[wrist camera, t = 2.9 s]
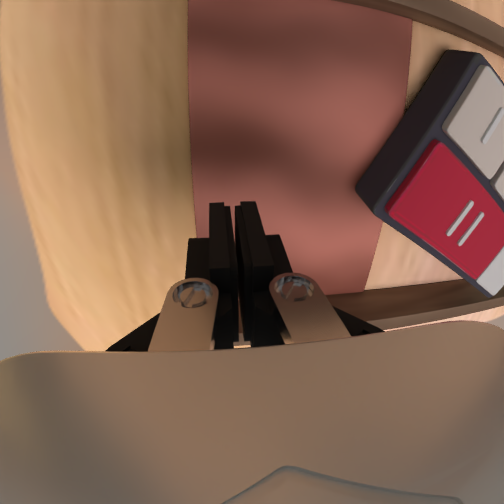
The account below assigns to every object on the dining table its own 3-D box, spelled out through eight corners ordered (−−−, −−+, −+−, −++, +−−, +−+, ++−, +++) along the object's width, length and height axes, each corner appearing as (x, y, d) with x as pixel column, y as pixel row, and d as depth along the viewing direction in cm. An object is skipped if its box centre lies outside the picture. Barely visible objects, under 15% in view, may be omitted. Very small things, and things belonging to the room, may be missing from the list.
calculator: (488, 50, 10) (572, 200, 14) (441, 45, 13) (538, 177, 18) (374, 220, 15) (494, 306, 19) (347, 185, 18) (469, 273, 23)
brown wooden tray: (189, -27, 10) (183, -45, 8) (590, 103, 14) (611, 114, 11) (204, 313, 22) (204, 347, 20) (535, 276, 26) (549, 292, 23)
